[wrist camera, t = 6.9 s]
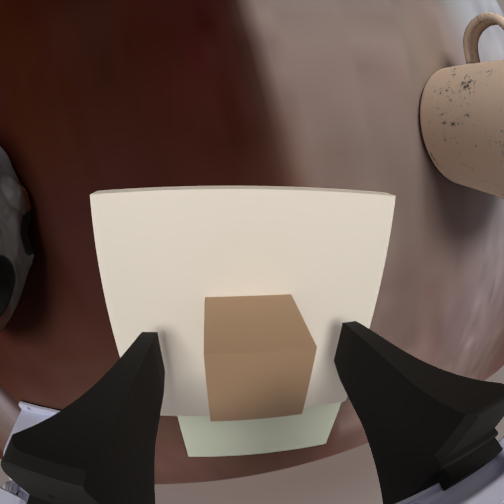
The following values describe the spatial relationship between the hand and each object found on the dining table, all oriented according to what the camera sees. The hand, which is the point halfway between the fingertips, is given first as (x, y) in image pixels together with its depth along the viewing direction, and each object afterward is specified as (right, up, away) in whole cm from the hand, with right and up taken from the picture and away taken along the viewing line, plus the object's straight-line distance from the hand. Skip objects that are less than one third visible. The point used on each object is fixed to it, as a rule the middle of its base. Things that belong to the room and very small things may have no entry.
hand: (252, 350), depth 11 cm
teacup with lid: (+14, +14, +4) cm, 20 cm away
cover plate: (0, +1, +2) cm, 2 cm away
